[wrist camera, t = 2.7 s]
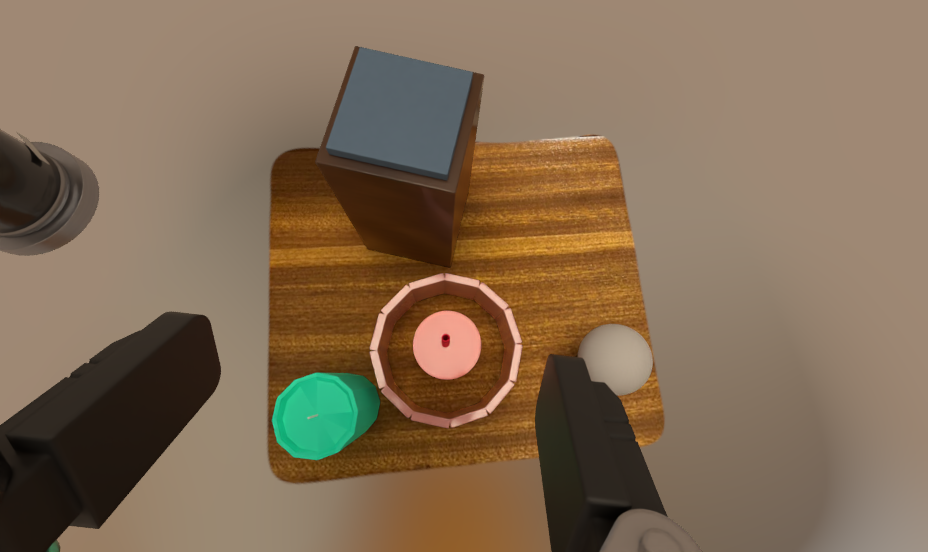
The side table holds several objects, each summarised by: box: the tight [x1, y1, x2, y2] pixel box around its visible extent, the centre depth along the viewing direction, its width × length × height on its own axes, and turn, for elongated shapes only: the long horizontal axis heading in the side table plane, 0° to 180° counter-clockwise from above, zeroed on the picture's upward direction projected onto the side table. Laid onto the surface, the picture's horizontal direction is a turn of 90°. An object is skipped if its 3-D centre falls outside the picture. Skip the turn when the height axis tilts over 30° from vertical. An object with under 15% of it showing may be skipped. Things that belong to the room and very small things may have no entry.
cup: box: [413, 311, 481, 380], centre depth 35 cm, size 5×5×12 cm
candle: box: [272, 373, 380, 460], centre depth 33 cm, size 6×6×12 cm
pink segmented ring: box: [369, 273, 523, 428], centre depth 38 cm, size 13×13×6 cm
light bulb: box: [576, 324, 653, 395], centre depth 36 cm, size 6×6×10 cm
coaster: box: [326, 47, 473, 181], centre depth 26 cm, size 8×8×1 cm
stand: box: [316, 46, 484, 267], centre depth 35 cm, size 9×9×18 cm
